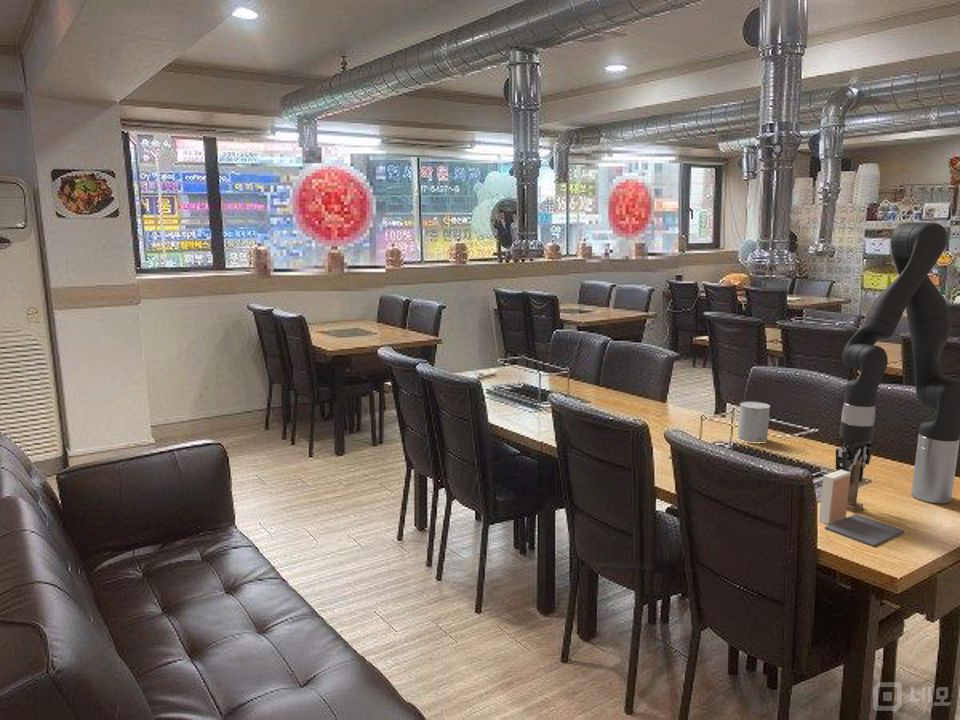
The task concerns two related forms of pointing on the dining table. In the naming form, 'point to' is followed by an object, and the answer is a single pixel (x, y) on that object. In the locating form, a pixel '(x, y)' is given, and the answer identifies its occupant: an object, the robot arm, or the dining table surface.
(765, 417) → the grey stone cylinder
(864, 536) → the mat
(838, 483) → the white rectangular block
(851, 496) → the brown tapered stand
